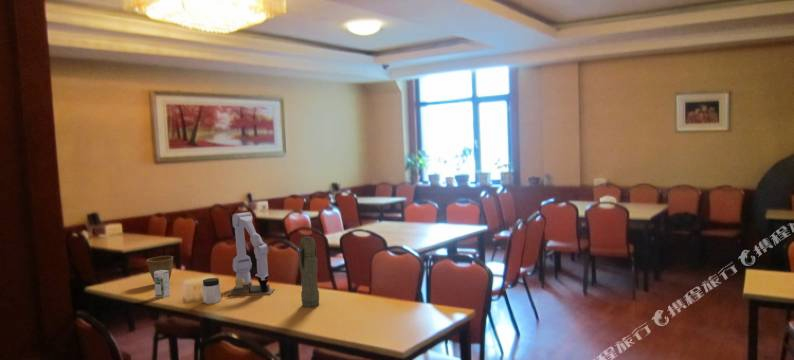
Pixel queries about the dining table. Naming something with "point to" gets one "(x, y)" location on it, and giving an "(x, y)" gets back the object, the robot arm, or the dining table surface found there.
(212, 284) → the jar
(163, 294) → the syrup box
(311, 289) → the thermos
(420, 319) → the dining table surface
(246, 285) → the bearing block
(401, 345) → the dining table surface
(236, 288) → the shaft
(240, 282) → the spacer
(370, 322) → the dining table surface
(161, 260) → the plant pot
